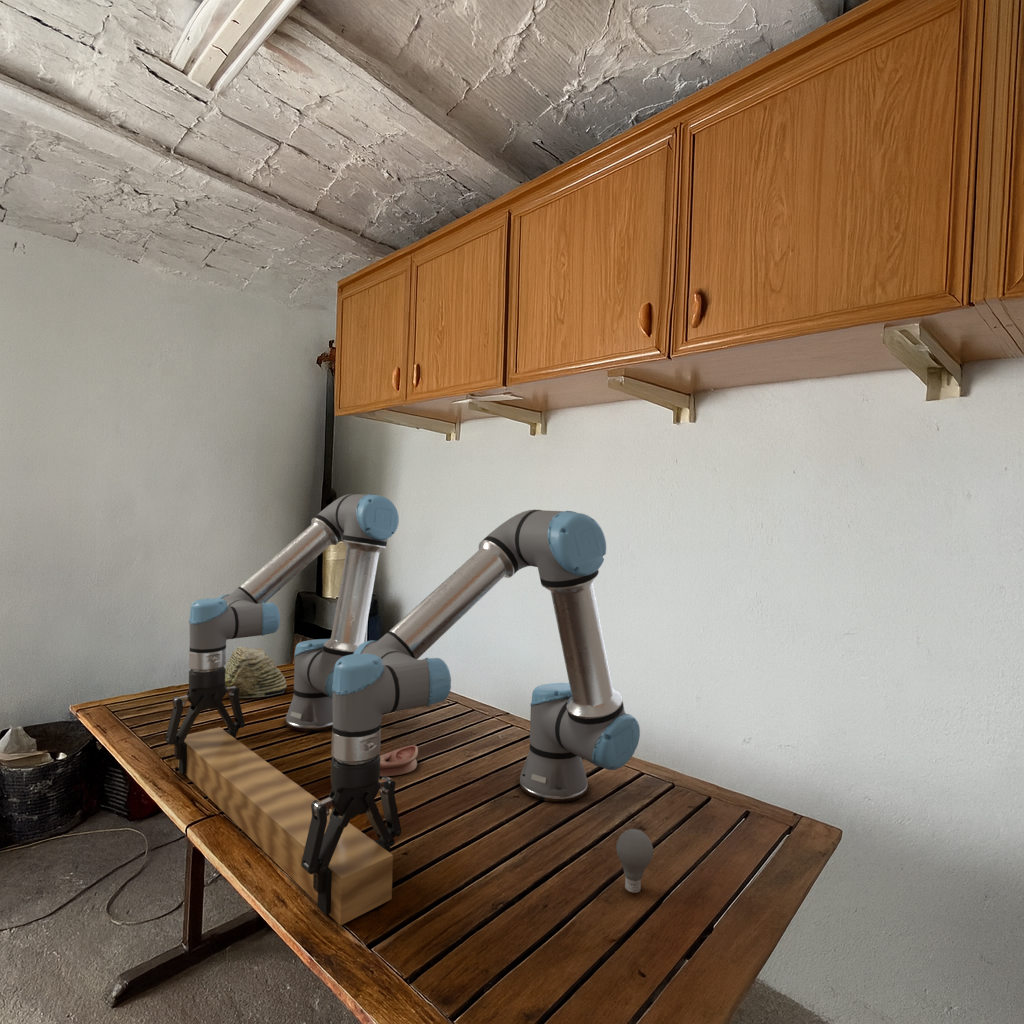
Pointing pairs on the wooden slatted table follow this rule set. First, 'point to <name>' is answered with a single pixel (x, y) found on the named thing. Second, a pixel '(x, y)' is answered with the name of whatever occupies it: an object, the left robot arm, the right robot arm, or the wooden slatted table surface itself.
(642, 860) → the light bulb
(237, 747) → the long beam
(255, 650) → the fossil
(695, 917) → the wooden slatted table surface
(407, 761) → the anatomical model
